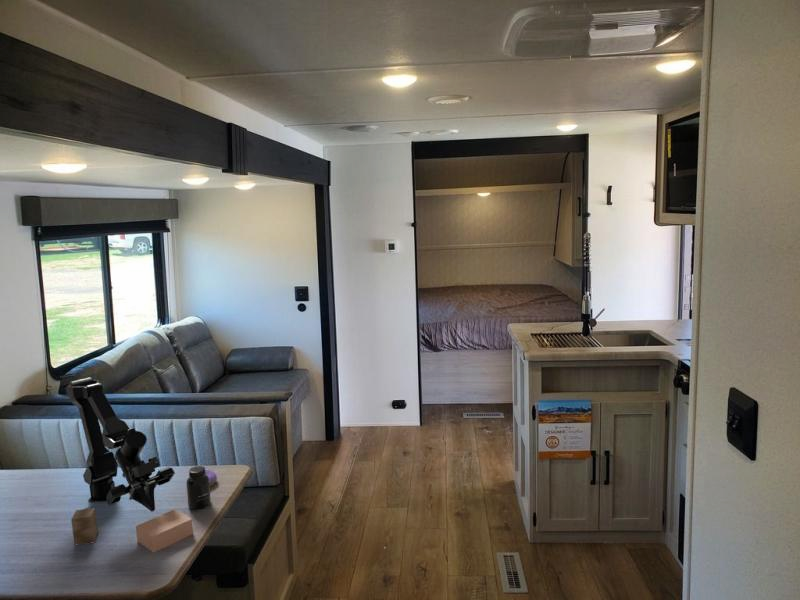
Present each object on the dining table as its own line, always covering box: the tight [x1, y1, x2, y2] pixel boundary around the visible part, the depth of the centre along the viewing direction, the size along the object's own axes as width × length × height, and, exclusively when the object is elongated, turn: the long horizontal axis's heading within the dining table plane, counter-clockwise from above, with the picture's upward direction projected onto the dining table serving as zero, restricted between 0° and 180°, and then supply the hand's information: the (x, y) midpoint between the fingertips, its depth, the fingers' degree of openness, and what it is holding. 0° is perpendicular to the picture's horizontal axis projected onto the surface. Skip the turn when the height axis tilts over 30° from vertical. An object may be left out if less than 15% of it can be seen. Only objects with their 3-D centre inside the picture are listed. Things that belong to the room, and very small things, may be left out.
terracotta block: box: [135, 508, 194, 554], centre depth 176 cm, size 5×12×9 cm
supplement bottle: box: [185, 465, 212, 511], centre depth 193 cm, size 7×7×12 cm
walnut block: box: [71, 507, 99, 545], centre depth 176 cm, size 5×5×8 cm
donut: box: [205, 469, 218, 488], centre depth 208 cm, size 10×9×5 cm
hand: (153, 510), depth 178 cm, fingers closed
